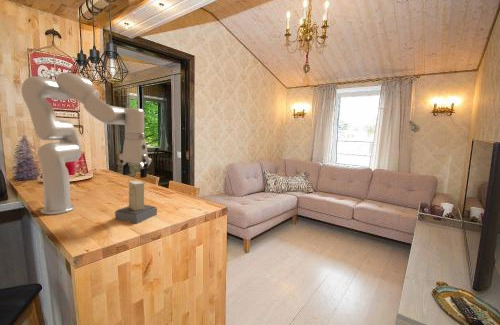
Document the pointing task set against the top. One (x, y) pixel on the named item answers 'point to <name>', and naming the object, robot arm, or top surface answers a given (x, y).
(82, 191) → the top surface
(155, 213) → the stand
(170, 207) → the top surface
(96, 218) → the top surface
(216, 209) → the top surface
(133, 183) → the skincare box
